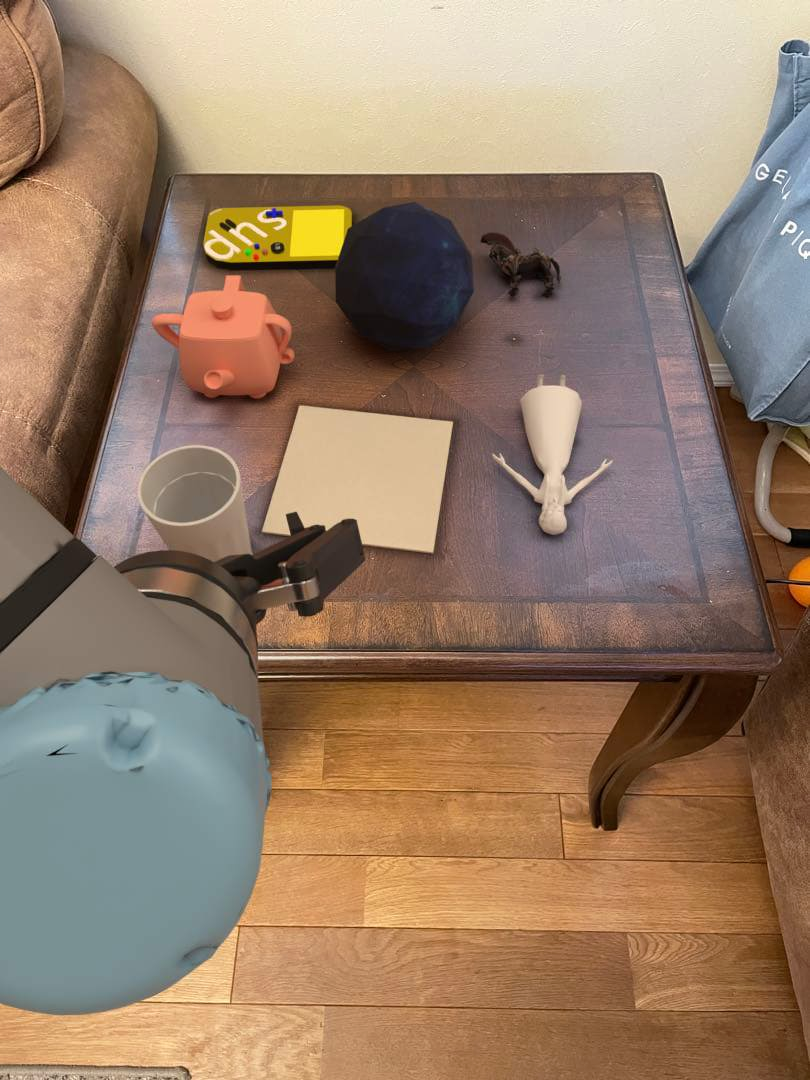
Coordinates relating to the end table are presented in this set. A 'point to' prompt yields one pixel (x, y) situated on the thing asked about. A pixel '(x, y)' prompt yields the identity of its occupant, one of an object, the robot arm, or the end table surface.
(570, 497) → the woman figurine
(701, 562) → the end table surface
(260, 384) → the teapot
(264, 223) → the game console
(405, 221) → the decorative orb
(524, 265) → the horse figurine
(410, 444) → the napkin
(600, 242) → the end table surface
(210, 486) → the cup
